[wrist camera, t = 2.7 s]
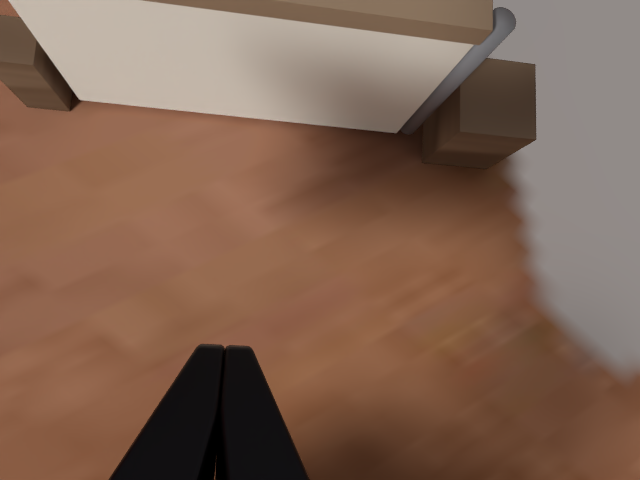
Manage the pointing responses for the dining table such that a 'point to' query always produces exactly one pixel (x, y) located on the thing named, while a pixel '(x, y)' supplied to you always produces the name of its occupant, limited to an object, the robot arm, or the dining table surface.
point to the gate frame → (438, 129)
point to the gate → (271, 55)
